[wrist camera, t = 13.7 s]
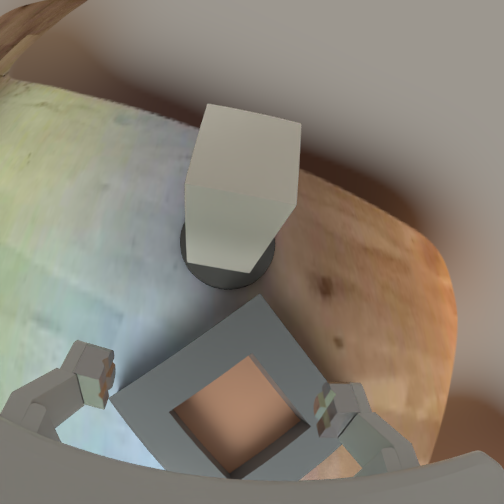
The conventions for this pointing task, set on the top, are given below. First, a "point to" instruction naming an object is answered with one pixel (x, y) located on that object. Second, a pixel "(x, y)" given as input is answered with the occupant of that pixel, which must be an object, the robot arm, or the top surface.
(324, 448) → the gray square frame
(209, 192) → the block
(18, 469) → the robot arm
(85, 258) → the top surface
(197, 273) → the pad
